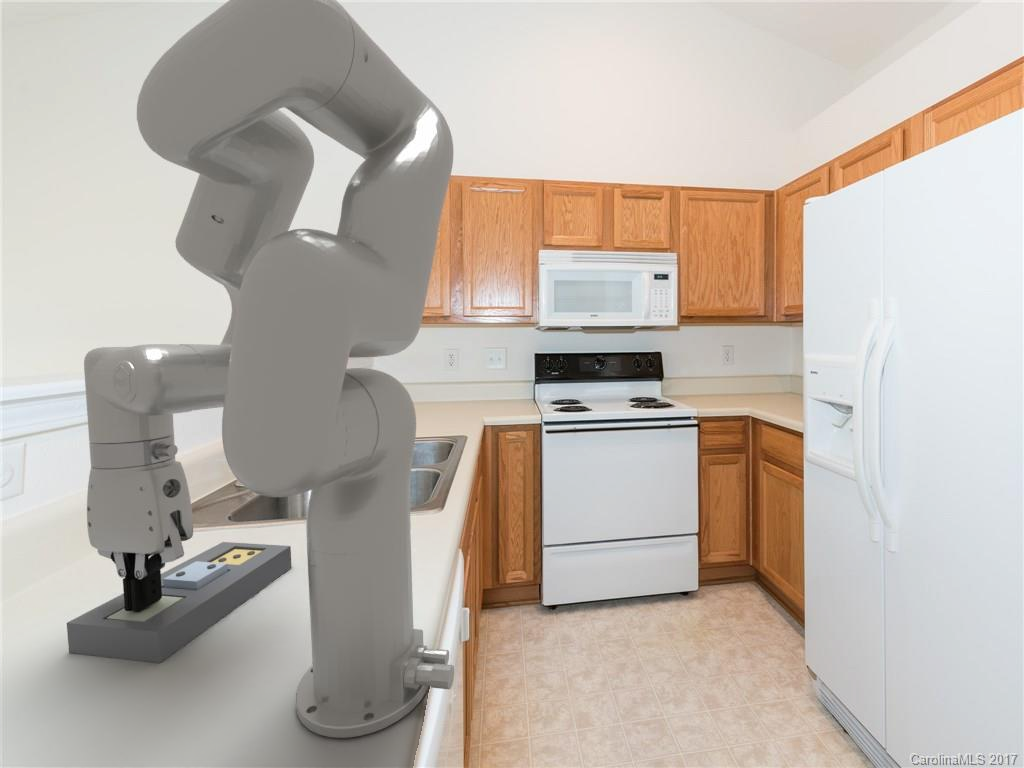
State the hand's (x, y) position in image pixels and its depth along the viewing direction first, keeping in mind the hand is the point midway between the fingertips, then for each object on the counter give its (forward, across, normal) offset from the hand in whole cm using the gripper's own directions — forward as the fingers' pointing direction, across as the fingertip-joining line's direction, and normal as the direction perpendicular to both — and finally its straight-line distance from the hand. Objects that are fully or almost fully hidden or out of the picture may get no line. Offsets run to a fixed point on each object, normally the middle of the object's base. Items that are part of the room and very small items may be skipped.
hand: (144, 604), depth 53 cm
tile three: (+3, 0, -14) cm, 14 cm away
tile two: (+1, 0, -7) cm, 7 cm away
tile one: (+2, 0, 0) cm, 2 cm away
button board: (+4, 0, -7) cm, 8 cm away
